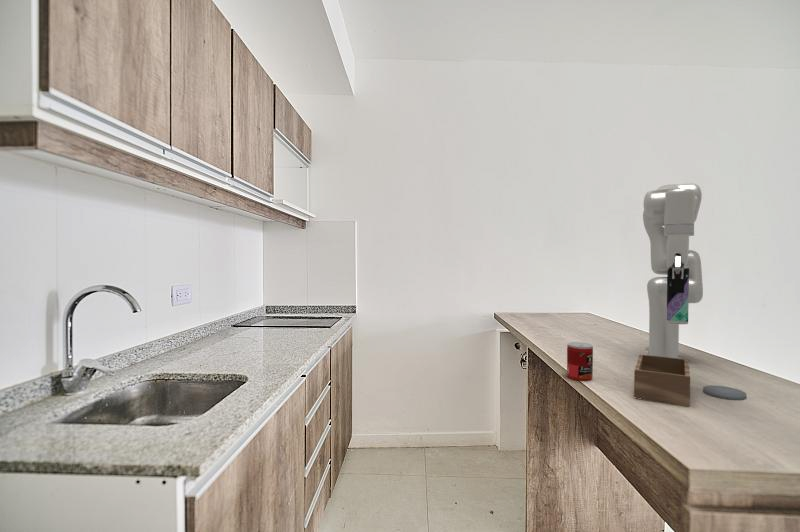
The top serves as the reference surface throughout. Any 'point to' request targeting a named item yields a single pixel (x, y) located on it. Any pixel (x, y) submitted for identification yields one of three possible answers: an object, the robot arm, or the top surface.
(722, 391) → the mat
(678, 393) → the wooden box
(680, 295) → the spray can
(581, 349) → the canned food
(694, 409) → the top surface
